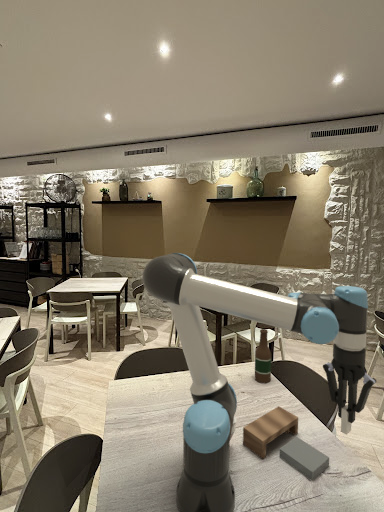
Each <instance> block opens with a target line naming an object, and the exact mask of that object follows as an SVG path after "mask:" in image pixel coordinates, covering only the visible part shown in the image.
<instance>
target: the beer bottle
mask: <svg viewBox="0 0 384 512" xmlns="http://www.w3.org/2000/svg"><path fill="white" fill-rule="evenodd" d="M259 333H260V335H259V344H258V346H257V347H256V350H255V352H254V353H255V355H254V380H255V381H256V382H258V383H260V384H267V383H270V382H271V380H272V379H271V378H272V353H271V349H270V348H269V346H268V343H269V342H268V333H269V331H268V329H265V328H261V329H260V330H259Z"/></svg>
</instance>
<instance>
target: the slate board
mask: <svg viewBox="0 0 384 512" xmlns="http://www.w3.org/2000/svg"><path fill="white" fill-rule="evenodd" d="M279 458H281V459H282V460H284V461H285V462H286V463H288V464H289V465H290V466H291V467H292V468H294V469H296V470H297V471H298V472H300V473H301V474H302V475H303V476H306V478H307V479H309V480H310V481H311V482H313V481H314V480H315V479H316V478H317V477H318V476H319V475H320V474H321V473H323V472H324V471H325V470H326V469H327V468H328V467H330V457H329V456H328V455H327V454H324V452H322V451H320V450H318V449H317V448H315V447H314V446H312V445H311V444H310V443H308V442H306V441H305V440H303V439H301V438H300V437H298V436H295V437H294V438H293V439H291V440H290V441H288V442H287V443H286V444H284V445H283V446H281V447H280V448H279Z"/></svg>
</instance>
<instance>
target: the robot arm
mask: <svg viewBox="0 0 384 512" xmlns="http://www.w3.org/2000/svg"><path fill="white" fill-rule="evenodd" d="M142 284H143V287H144V289H145V290H146V292H147V293H148V294H149V295H150V296H151V297H153V298H154V299H155V298H156V299H157V300H159V301H161V302H162V304H164V305H165V306H167V307H168V308H169V310H170V312H171V313H170V314H171V316H172V320H173V322H174V325H175V329H176V332H177V335H178V338H179V341H180V345H181V349H182V351H183V354H184V358H185V362H186V364H187V368H188V371H189V374H190V377H191V380H192V381H191V382H192V383H191V385H190V388H189V392H190V395H191V398H192V401H193V404H191V405H189V407H188V408H187V410H186V411H185V414H184V417H183V423H182V434H183V440H182V441H183V443H182V444H183V451H182V452H183V455H182V456H183V462H182V463H183V469H182V472H181V474H180V479H179V480H178V483H177V487H176V492H175V493H176V496H175V497H176V506H177V508H178V511H179V512H234V509H235V505H236V491H235V486H234V484H233V481H232V479H231V475H230V471H229V470H230V469H229V468H230V467H229V466H230V465H229V464H230V463H229V462H230V457H229V456H230V441H231V440H230V437H231V431H232V426H233V421H234V416H235V415H236V412H237V407H238V402H237V401H238V399H237V394H236V392H235V389H234V387H233V386H232V385H231V383H229V382H228V381H229V380H228V378H227V376H226V375H224V374H222V373H220V370H219V366H218V362H217V360H216V356H215V353H214V349H213V347H212V344H211V340H210V337H209V335H208V333H209V332H208V331H207V327H206V324H205V321H204V318H203V314H202V312H201V308H203V309H204V308H205V309H209V310H211V311H216V312H218V313H222V314H227V315H231V316H235V317H237V318H241V319H245V320H249V321H252V322H257V323H259V324H264V325H268V326H271V327H275V328H279V329H283V330H286V331H289V332H294V333H296V334H301V335H303V336H304V338H305V339H307V340H309V342H312V343H314V344H315V345H316V344H318V345H326V344H329V343H331V342H332V341H333V344H332V346H333V347H332V348H333V349H332V359H331V361H330V362H329V361H328V362H326V363H325V364H323V365H322V368H323V370H324V373H325V375H326V380H327V385H328V390H329V395H330V399H331V402H334V403H335V404H337V416H338V418H340V419H341V420H340V432H341V433H342V434H344V435H348V434H349V433H350V432H351V431H352V424H353V423H354V422H355V421H356V414H359V413H361V412H362V411H363V410H364V409H365V406H366V403H367V400H368V398H369V395H370V393H371V389H372V387H373V386H374V385H375V384H376V383H377V379H376V378H374V377H371V376H370V375H369V374H368V371H367V369H366V354H367V353H366V352H367V351H366V348H367V347H366V346H367V327H368V326H367V325H368V324H367V323H368V322H367V321H368V311H369V310H368V309H369V300H368V299H369V298H368V296H369V295H368V292H367V291H366V289H364V288H362V287H360V286H359V287H358V286H353V285H352V286H351V285H343V286H341V285H340V286H337V287H335V289H334V292H333V293H315V292H311V293H310V292H303V291H302V292H301V291H299V292H289V293H288V294H287V296H286V295H282V294H280V293H279V294H278V293H274V292H270V291H265V290H262V289H258V288H254V287H250V286H246V285H242V284H238V283H234V282H230V281H226V280H222V279H217V278H213V277H210V276H206V275H201V274H198V269H197V266H196V263H195V261H194V260H193V259H192V258H191V257H189V256H188V255H187V254H184V253H179V252H172V253H169V254H165V255H161V256H155V257H154V258H152V259H150V260H149V261H148V262H147V264H146V265H145V267H144V269H143V270H142ZM200 307H201V308H200ZM336 374H337V375H336ZM336 376H337V377H336ZM362 378H363V381H362V382H363V386H362V388H361V391H360V393H359V397H358V384H359V381H360V380H362ZM337 382H338V383H337Z"/></svg>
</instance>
